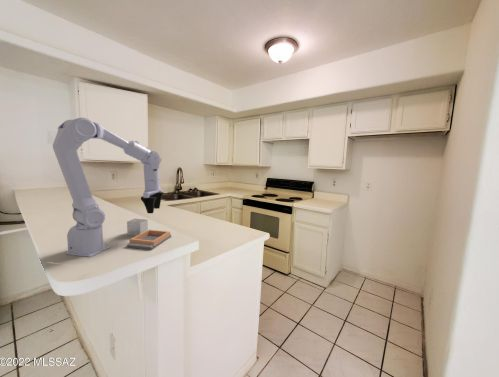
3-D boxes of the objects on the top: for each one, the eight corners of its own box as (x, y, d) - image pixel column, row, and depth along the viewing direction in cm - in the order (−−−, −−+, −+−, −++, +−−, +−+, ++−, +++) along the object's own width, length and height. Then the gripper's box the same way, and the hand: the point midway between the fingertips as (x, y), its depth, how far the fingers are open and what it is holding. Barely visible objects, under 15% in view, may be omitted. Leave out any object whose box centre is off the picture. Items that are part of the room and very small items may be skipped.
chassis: (127, 247, 76) (127, 240, 75) (150, 234, 89) (150, 228, 89) (151, 249, 74) (151, 242, 74) (171, 236, 88) (171, 230, 88)
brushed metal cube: (127, 235, 87) (127, 221, 87) (135, 231, 92) (135, 218, 92) (140, 236, 87) (140, 222, 86) (147, 232, 92) (147, 219, 91)
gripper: (155, 182, 81) (157, 215, 83) (166, 177, 95) (168, 206, 97) (136, 181, 80) (139, 215, 82) (150, 177, 94) (152, 206, 97)
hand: (153, 210), depth 90 cm, fingers open, 7 cm apart
